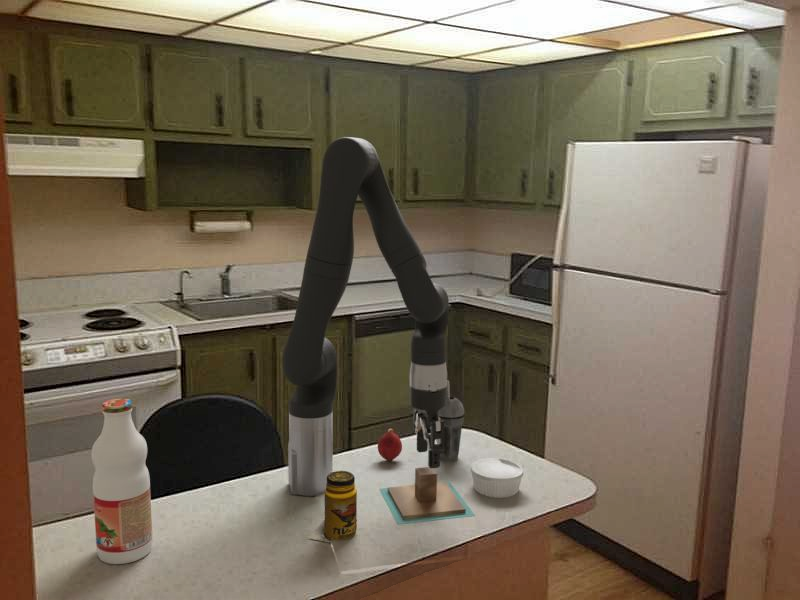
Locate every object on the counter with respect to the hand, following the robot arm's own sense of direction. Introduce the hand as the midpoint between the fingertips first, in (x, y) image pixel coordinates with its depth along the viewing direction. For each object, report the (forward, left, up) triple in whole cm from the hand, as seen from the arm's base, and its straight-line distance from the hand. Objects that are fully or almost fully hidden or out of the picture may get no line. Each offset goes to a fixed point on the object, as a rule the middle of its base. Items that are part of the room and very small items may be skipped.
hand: (427, 459), depth 147 cm
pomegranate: (-2, +23, -10) cm, 25 cm away
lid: (0, 0, -9) cm, 9 cm away
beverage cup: (+12, +21, -10) cm, 26 cm away
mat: (0, 0, -10) cm, 10 cm away
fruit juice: (-58, -6, -10) cm, 59 cm away
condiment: (-20, -8, -10) cm, 24 cm away
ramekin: (+17, +3, -10) cm, 20 cm away
